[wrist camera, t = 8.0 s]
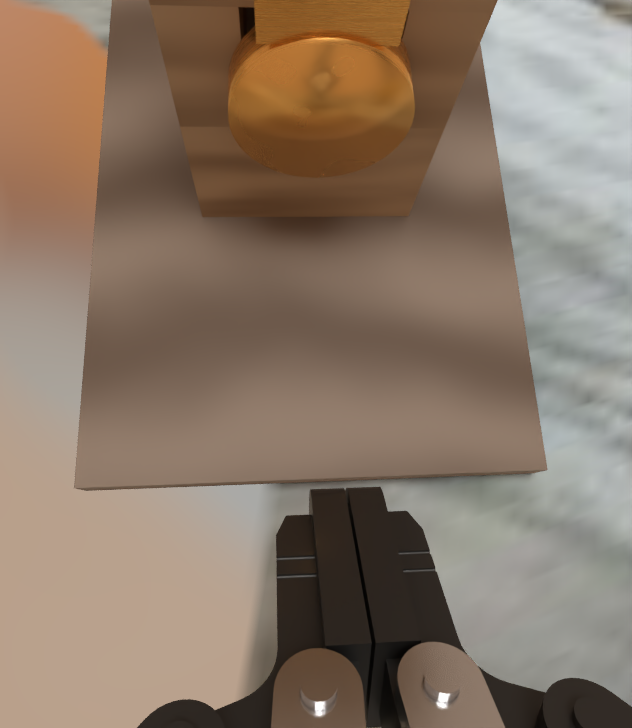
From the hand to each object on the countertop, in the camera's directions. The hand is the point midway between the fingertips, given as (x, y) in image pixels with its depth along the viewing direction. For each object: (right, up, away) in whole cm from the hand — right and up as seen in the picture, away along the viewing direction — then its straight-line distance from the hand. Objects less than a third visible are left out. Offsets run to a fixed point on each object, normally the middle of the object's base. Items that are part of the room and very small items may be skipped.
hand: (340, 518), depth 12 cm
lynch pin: (-1, +15, +7) cm, 16 cm away
